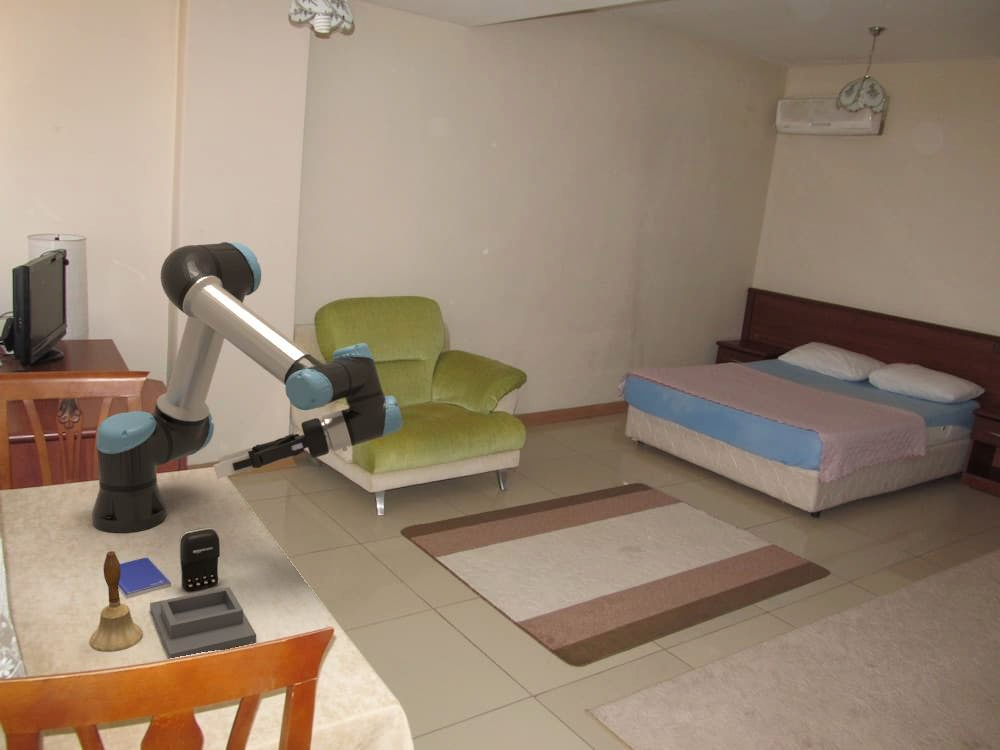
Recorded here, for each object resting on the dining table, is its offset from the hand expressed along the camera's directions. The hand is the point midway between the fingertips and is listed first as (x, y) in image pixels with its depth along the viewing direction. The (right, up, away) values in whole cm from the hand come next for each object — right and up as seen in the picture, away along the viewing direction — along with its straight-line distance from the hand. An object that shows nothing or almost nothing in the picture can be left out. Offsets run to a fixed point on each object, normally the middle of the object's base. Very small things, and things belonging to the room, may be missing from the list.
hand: (217, 468), depth 164 cm
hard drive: (-15, -22, 0) cm, 27 cm away
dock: (+2, -26, -14) cm, 30 cm away
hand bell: (-11, -27, -20) cm, 35 cm away
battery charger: (-3, -23, -1) cm, 23 cm away
